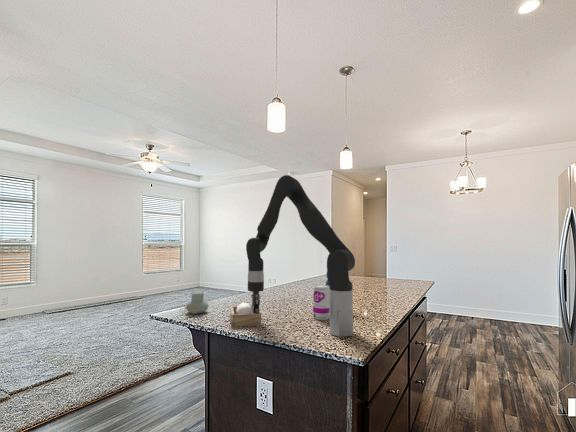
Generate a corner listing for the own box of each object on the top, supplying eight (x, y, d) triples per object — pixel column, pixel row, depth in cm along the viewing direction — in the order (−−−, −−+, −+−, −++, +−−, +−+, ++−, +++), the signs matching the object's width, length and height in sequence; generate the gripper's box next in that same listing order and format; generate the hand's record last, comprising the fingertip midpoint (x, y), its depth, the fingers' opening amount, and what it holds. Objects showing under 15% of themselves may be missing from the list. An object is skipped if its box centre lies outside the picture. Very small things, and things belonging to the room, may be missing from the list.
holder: (261, 325, 136) (261, 309, 137) (231, 327, 133) (231, 310, 134) (256, 315, 154) (256, 301, 154) (230, 317, 151) (230, 302, 151)
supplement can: (324, 321, 143) (324, 288, 145) (309, 318, 148) (309, 286, 149) (333, 317, 150) (333, 286, 151) (318, 315, 155) (318, 284, 156)
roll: (234, 319, 136) (247, 328, 137) (244, 305, 138) (257, 314, 139) (233, 312, 149) (245, 321, 150) (242, 299, 150) (254, 308, 151)
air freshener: (210, 311, 162) (211, 292, 163) (201, 315, 155) (202, 294, 155) (192, 310, 166) (193, 291, 167) (183, 313, 158) (183, 293, 159)
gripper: (265, 282, 140) (265, 321, 139) (261, 278, 153) (261, 314, 152) (248, 282, 139) (248, 322, 137) (246, 278, 152) (246, 315, 150)
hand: (255, 318), depth 145 cm, fingers closed
